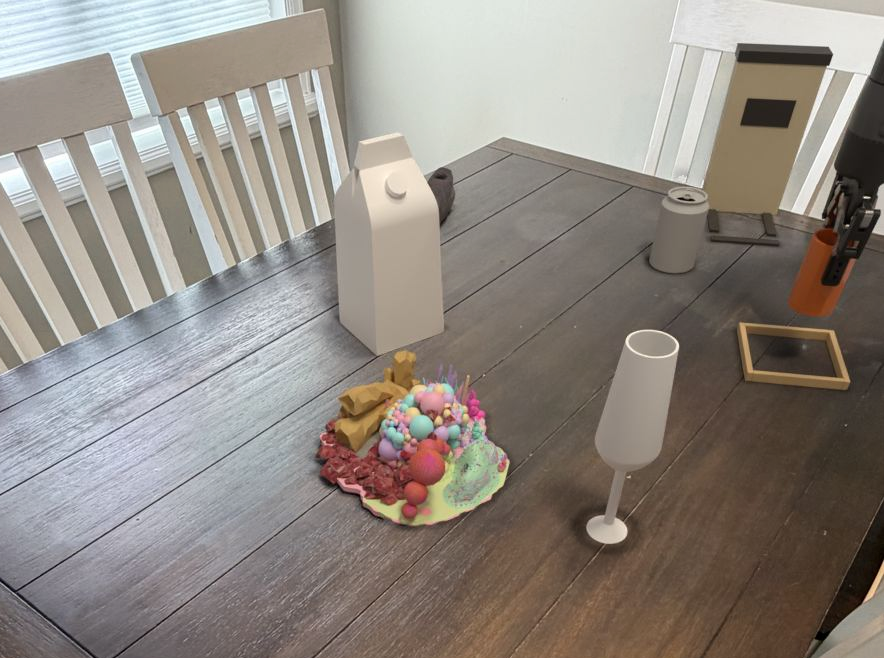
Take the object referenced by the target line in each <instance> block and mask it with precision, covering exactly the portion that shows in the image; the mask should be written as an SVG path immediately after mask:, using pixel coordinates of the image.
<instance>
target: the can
mask: <svg viewBox="0 0 884 658" xmlns="http://www.w3.org/2000/svg"><path fill="white" fill-rule="evenodd" d="M707 198H708V195H707V194H706V192H704V191H703V190H702V189H700V188H698V187H693V186H676V187H673V188H671V189H669V190H668V192H667V196H665V197H664V198H663V199H662V200H661V204H660V208H659V213H658V218H657V222H656V227H655V231H654V236H653V239H652V245H651V249H650V254H649V258H648V259H649V260H648V263H649V264H650V266H651V267H652V268H653V269H655V270H656V271H659V272H662V273H666V274H683V273H687V272H689V271H691V270H692V269H693V268H694V266H695V262H696V259H697V255H698V251H699V247H700V244H701V240H702V236H703V232H704V229H705V225H706V221H707V219H708V218H707V214H708V211H709V204H708V202H707Z"/></svg>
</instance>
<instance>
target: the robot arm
mask: <svg viewBox="0 0 884 658" xmlns="http://www.w3.org/2000/svg"><path fill="white" fill-rule="evenodd" d="M833 168H834V170H835V177H834V179H833V181H832V185H831V189H830V190H829V194H828V196H827V199H826V203H825V205H824V208H823V210H822V212H821V220H823V222H822V224H821V228H834V230H833V234H834V235H835V236H836V239H835V243H834V246H833V249H832V254H831V256H830V258H829V261H828V263H827V266H826V268H825V270H824V273H823V275H822V278H821V283H822V285H824V286H837V285H839V284H840V281H841V279H842V277H843V274H844V272H845V270H846V268H847V265H848V263H849V261H850V259H856V260H859V259H860V257H861V256H862V254H863V251H864V249H865V248H866V245H867V244H868V241H869V239H870V237H871V235H872V233H873V231H874V229H875V227H876V226H877V223H878V221H879V219H880V218H881V215H882V210H881V209H880V208H876V206H877V204H878V199H879V194H878V193H879V188H880V187H881V186H882V185H884V38H883V39H882V42H881V45H880V47H879V50H878V53H877V55H876V57H875V61H874V63H873V66H872V68H871V71H870V73H869V76H868V78H867V81H866V83H865V85H864V86H863V89H862V91H861V93H860V95H859V97H858V99H857V101H856V104H855V106H854V109H853V112H852V115H851V117H850V120H849V122H848V125H847V128H846V131H845V133H844V136H843V138H842V141H841V143H840V146H839V149H838V151H837V154H836V157H835V159H834V163H833ZM846 226H848V227H847V228H846ZM842 239H843V240H842ZM850 241H852V242H851V246H850V247H847V246H848V244H849V242H850Z"/></svg>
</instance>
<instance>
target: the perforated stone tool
mask: <svg viewBox="0 0 884 658" xmlns="http://www.w3.org/2000/svg"><path fill="white" fill-rule="evenodd" d="M426 182H427V183H428V185H429V187H430V189H431V191H432V192H433V194H434V196H435V199H436V201H437V205H438V210H439V225H441V223H442V222H443V221H444V220H445V218H446V217H447V216H448V214H449V212H450V211H451V209H452V207H453V204H454V201H455V198H456V190H455V187H454V175H453V171H452V170H451V169H450V168H448V167H443V166H441V167H438V168H437V169H436V170H435V171H434V172H433V173H432V175H431V176H430V177H429V179H428V180H427V181H426Z"/></svg>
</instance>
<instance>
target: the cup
mask: <svg viewBox="0 0 884 658" xmlns="http://www.w3.org/2000/svg"><path fill="white" fill-rule="evenodd" d="M833 230H834V228H822V227H821V228H818V229H816V230H814V232H813V233H812V236H811V238H810V240H809V244H808V247H807V248H806V251H805V254H804V256H803V259H802V261H801V264H800V267H799V269H798V272H797V275H796V277H795V280H794V282H793V286H792V287H791V290H790V293H789V296H788V298H787V299H788V300H787V306H789V308H790V309H791V310H793V311H794V312H796V313H799V314H801V315H804V316H808V317H817V318H818V317H819V318H820V317H826V316H829V315H831V314H832V313H834V311H835V309H836V306H837V305H838V302H839V300H840V298H841V296H842V294H843V291H844V289H845V286H846V284H847V281H848V280H849V277H850V275H851V273H852V271H853V268H854V266H855V264H856V261H857V259H850V261H849V263H848V265H847V268H846V270H845V272H844V274H843V277H842V279H841V281H840V284H839V285H837V286H824V285H822V283H821V278H822V275H823V273H824V270H825V268H826V266H827V263H828V261H829V258H830V256H831V254H832V249H833V246H834V243H835V239H836V236H835V235H834V234H833ZM842 240H843V239H842ZM851 242H852V241H850V242H849V244H848V246H847V247H850V246H851Z"/></svg>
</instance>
